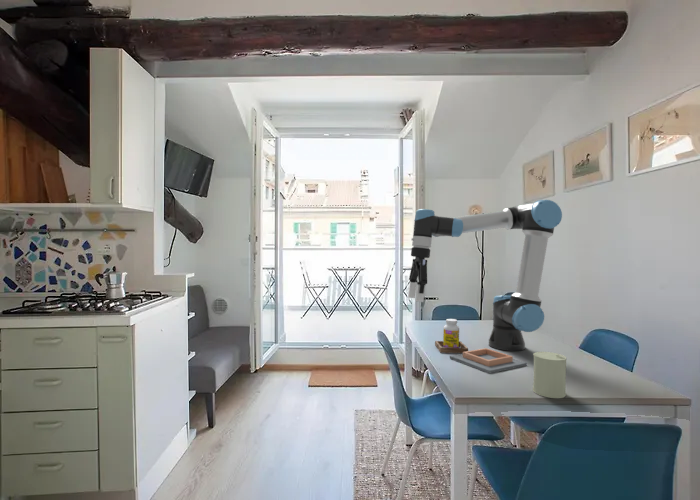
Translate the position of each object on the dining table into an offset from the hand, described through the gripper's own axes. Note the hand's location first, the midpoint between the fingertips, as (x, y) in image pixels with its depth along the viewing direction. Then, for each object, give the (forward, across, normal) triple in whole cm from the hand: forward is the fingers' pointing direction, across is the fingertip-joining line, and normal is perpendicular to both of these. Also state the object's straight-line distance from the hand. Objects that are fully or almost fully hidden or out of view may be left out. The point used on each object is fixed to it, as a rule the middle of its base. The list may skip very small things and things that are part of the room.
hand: (415, 299), depth 156 cm
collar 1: (+21, -11, +21) cm, 32 cm away
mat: (+20, +7, +29) cm, 36 cm away
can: (+21, +38, +36) cm, 56 cm away
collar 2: (+20, +7, +29) cm, 36 cm away
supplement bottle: (+21, -11, +21) cm, 32 cm away
